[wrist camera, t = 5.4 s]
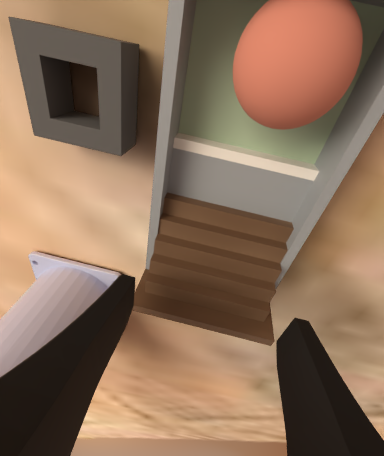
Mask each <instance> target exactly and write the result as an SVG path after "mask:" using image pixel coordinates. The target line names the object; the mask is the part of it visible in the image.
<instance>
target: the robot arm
mask: <svg viewBox="0 0 384 456" xmlns="http://www.w3.org/2000/svg"><path fill="white" fill-rule="evenodd" d="M29 260H30V263H31V266H32V269H33V272H34V275H35V278H36V281H35V282H34V283H33V284H32V285H31V286H30V287H29V288H28V289H27V291H26V292H25V293H24V294H23V295H22V296H21V297H20V298H19V299H18V300H17V301H16V302H15V304H14V305H13V306H12V307H11V308H10V309H9V310H8V311H7V312H6V313H5V314H4V316H3V317H2V318H1V319H0V456H70V455H71V452H72V449H73V447H74V444H75V441H76V439H77V436H78V433H79V431H80V428H81V426H82V423H83V420H84V418H85V415H86V413H87V410H88V408H89V405H90V403H91V400H92V397H93V395H94V392H95V390H96V388H97V385H98V383H99V381H100V379H101V376H102V374H103V372H104V370H105V368H106V366H107V364H108V362H109V360H110V358H111V356H112V354H113V352H114V350H115V348H116V346H117V344H118V342H119V340H120V338H121V336H122V334H123V332H124V329H125V327H126V325H127V322H128V320H129V317H130V314H131V311H132V309H133V306H134V292H135V277H131V276H127V275H123V274H120V273H119V272H115V271H111V270H107V269H104V268H100V267H96V266H92V265H88V264H84V263H80V262H76V261H72V260H68V259H64V258H60V257H56V256H52V255H48V254H44V253H40V252H36V251H33V252H31V253H30V254H29ZM277 370H278V378H279V386H280V393H281V400H282V407H283V414H284V422H285V430H286V440H287V456H384V440H383V439H382V438H381V436H380V435H379V433H378V432H377V431H376V429H375V428H374V427H373V425H372V424H371V422H370V421H369V419H368V418H367V416H366V415H365V413H364V412H363V410H362V409H361V407H360V406H359V404H358V403H357V401H356V400H355V398H354V397H353V395H352V394H351V392H350V390H349V389H348V387H347V386H346V384H345V382H344V381H343V379H342V378H341V376H340V374H339V373H338V371H337V369H336V368H335V366H334V364H333V363H332V361H331V359H330V357H329V356H328V354H327V352H326V351H325V349H324V347H323V345H322V344H321V342H320V340H319V338H318V337H317V335H316V333H315V331H314V330H313V328H312V326H311V324H310V323H309V321H306V320H302V319H298V318H294V319H293V321H292V322H291V323H290V325H289V326H288V327H287V329H286V330H285V331H284V332H283V334H282V335H281V336H280V338H279V339H278V340H277Z"/></svg>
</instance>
